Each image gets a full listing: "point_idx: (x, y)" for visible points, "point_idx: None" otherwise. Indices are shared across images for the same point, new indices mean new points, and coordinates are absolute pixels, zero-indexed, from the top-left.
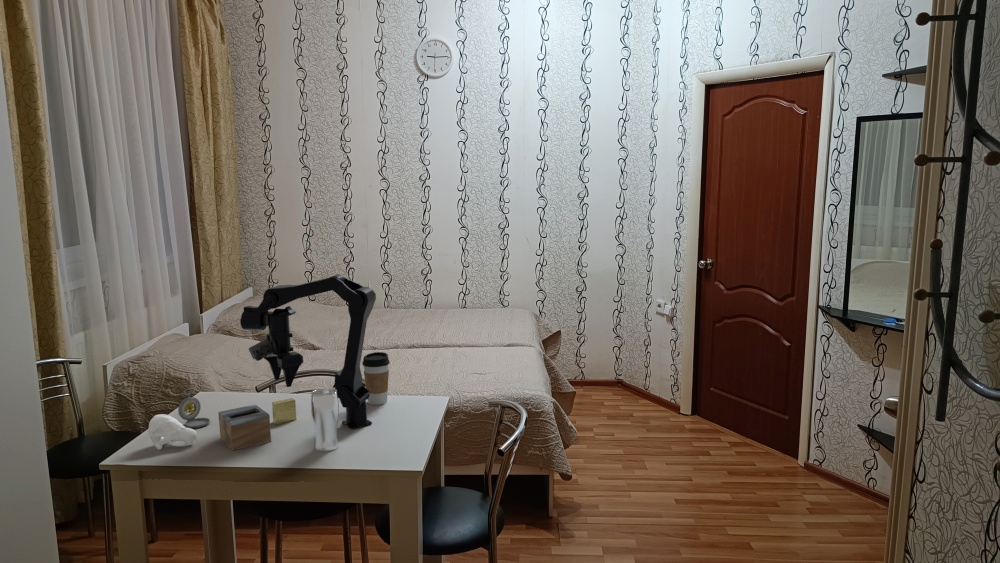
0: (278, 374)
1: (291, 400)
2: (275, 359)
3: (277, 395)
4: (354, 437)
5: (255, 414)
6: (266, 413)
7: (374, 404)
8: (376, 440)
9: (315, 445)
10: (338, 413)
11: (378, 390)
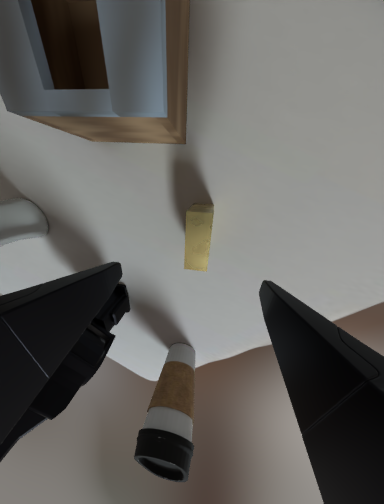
0: (267, 312)
1: (186, 260)
2: (375, 475)
3: (377, 293)
4: (60, 266)
5: (16, 43)
6: (22, 105)
7: (173, 344)
8: (41, 278)
9: (18, 200)
10: None
11: (162, 370)
